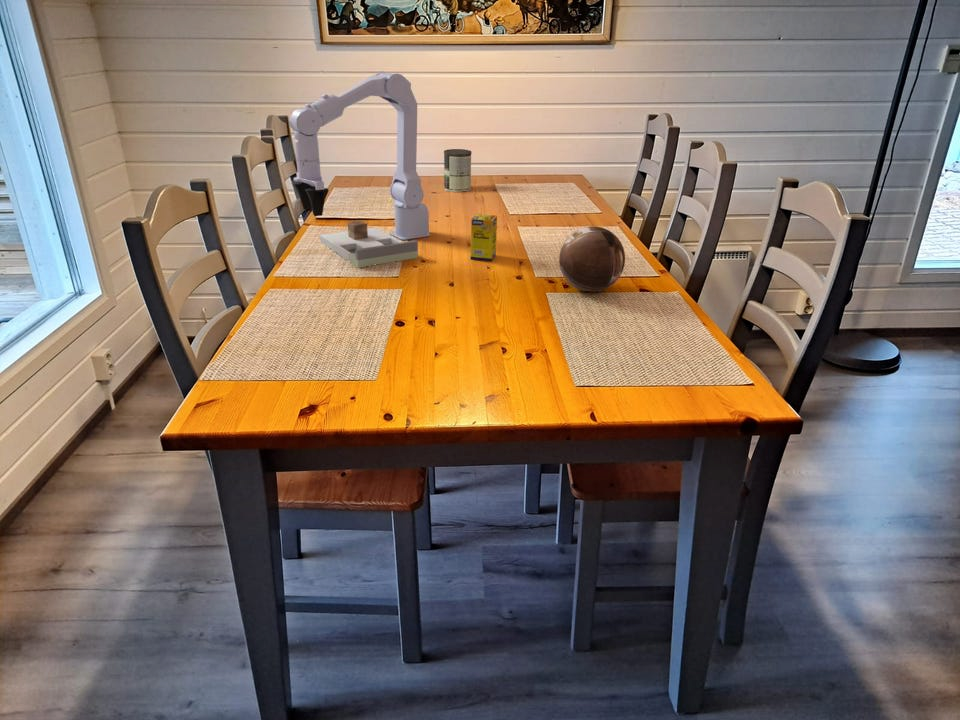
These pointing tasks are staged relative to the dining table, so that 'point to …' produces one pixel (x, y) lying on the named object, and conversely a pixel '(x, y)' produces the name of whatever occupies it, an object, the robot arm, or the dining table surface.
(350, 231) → the walnut block
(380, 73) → the robot arm
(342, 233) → the board
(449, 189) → the coffee can
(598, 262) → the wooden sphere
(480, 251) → the supplement box
